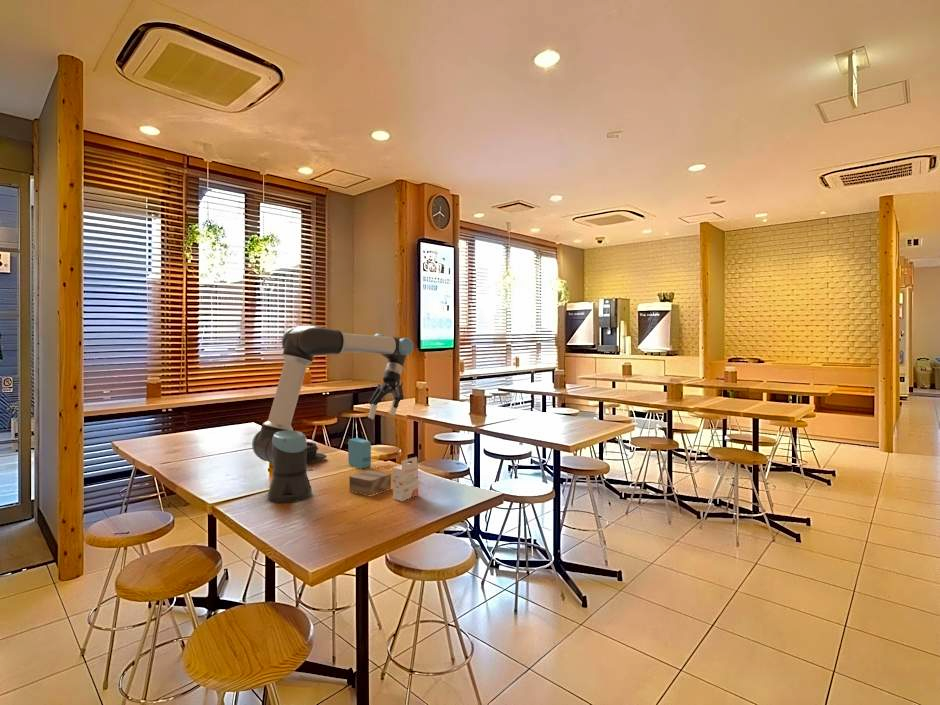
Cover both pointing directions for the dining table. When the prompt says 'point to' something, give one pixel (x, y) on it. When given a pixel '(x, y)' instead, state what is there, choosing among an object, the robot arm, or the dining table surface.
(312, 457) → the casserole
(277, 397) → the robot arm
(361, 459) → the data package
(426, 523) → the dining table surface
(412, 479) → the ink cartridge box
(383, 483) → the walnut block
